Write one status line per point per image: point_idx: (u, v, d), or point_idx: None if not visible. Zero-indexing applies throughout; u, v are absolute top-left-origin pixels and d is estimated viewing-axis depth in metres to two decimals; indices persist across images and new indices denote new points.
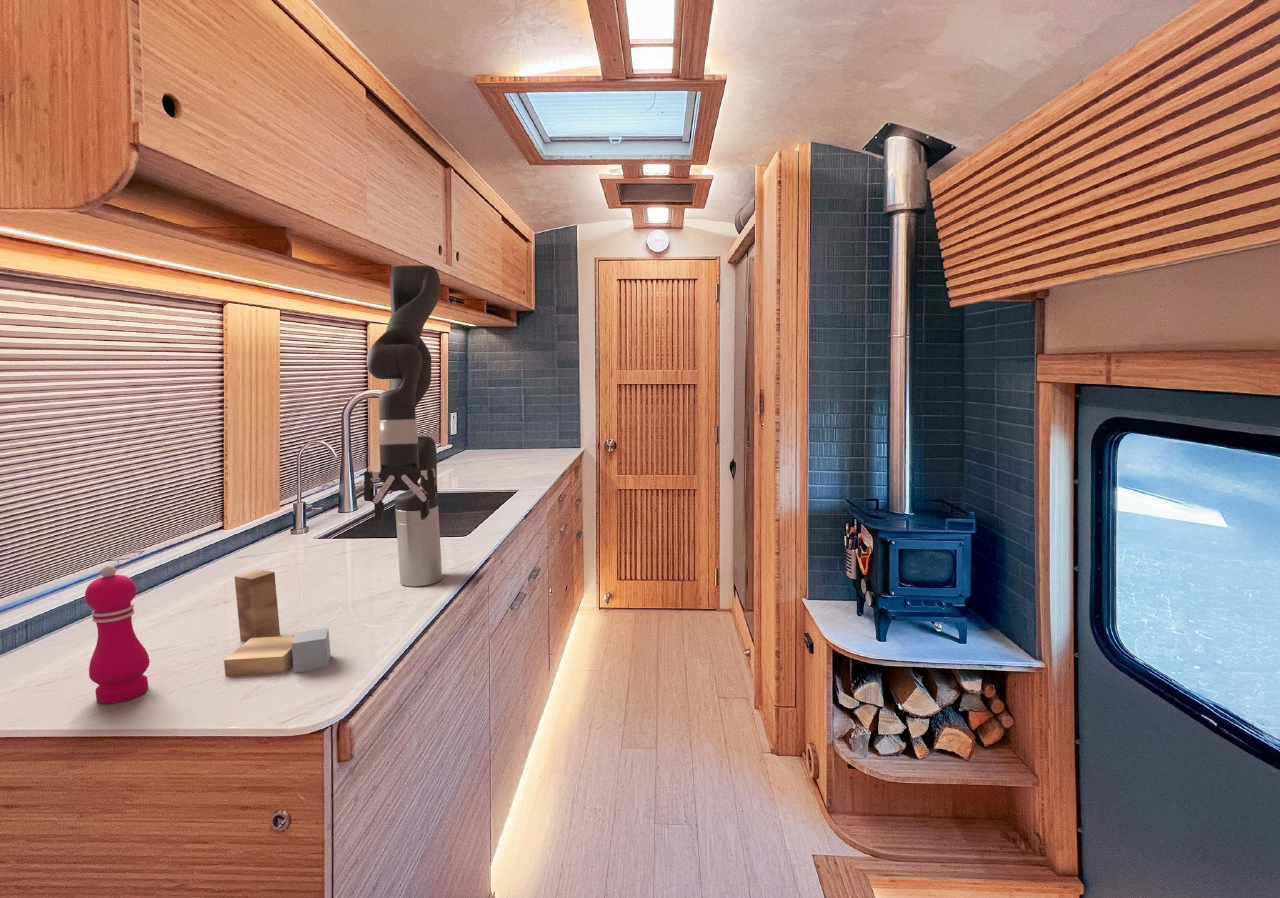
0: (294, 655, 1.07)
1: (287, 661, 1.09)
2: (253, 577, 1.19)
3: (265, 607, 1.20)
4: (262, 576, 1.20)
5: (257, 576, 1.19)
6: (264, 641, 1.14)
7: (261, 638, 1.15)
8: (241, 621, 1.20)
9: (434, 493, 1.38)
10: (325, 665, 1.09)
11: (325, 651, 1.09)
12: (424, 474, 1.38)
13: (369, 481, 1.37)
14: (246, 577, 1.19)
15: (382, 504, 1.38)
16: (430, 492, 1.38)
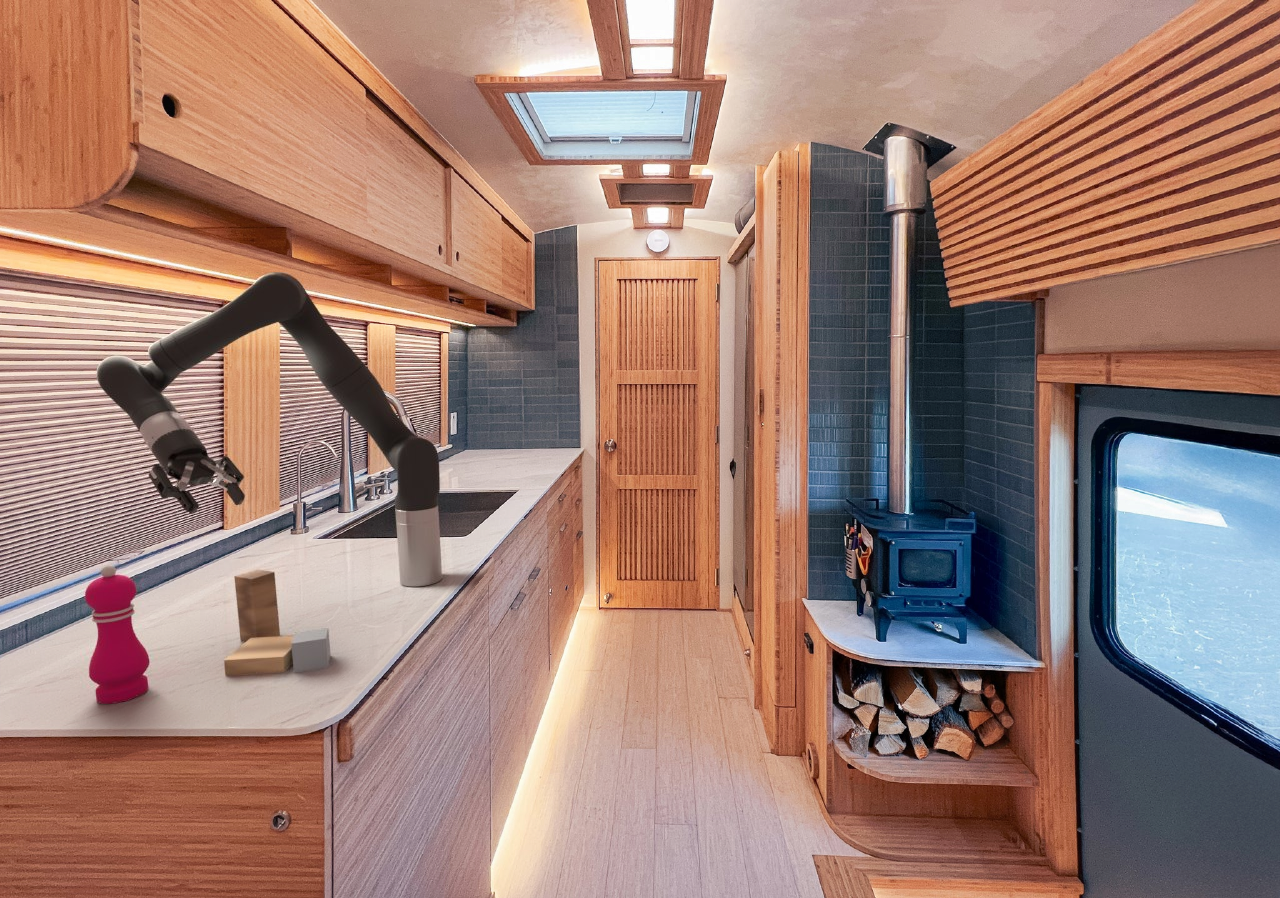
0: (294, 655, 1.07)
1: (287, 661, 1.09)
2: (253, 577, 1.19)
3: (265, 607, 1.20)
4: (262, 576, 1.20)
5: (257, 576, 1.19)
6: (264, 641, 1.14)
7: (261, 638, 1.15)
8: (241, 622, 1.20)
9: None
10: (325, 665, 1.09)
11: (325, 651, 1.09)
12: None
13: None
14: (246, 577, 1.19)
15: (229, 488, 1.26)
16: None
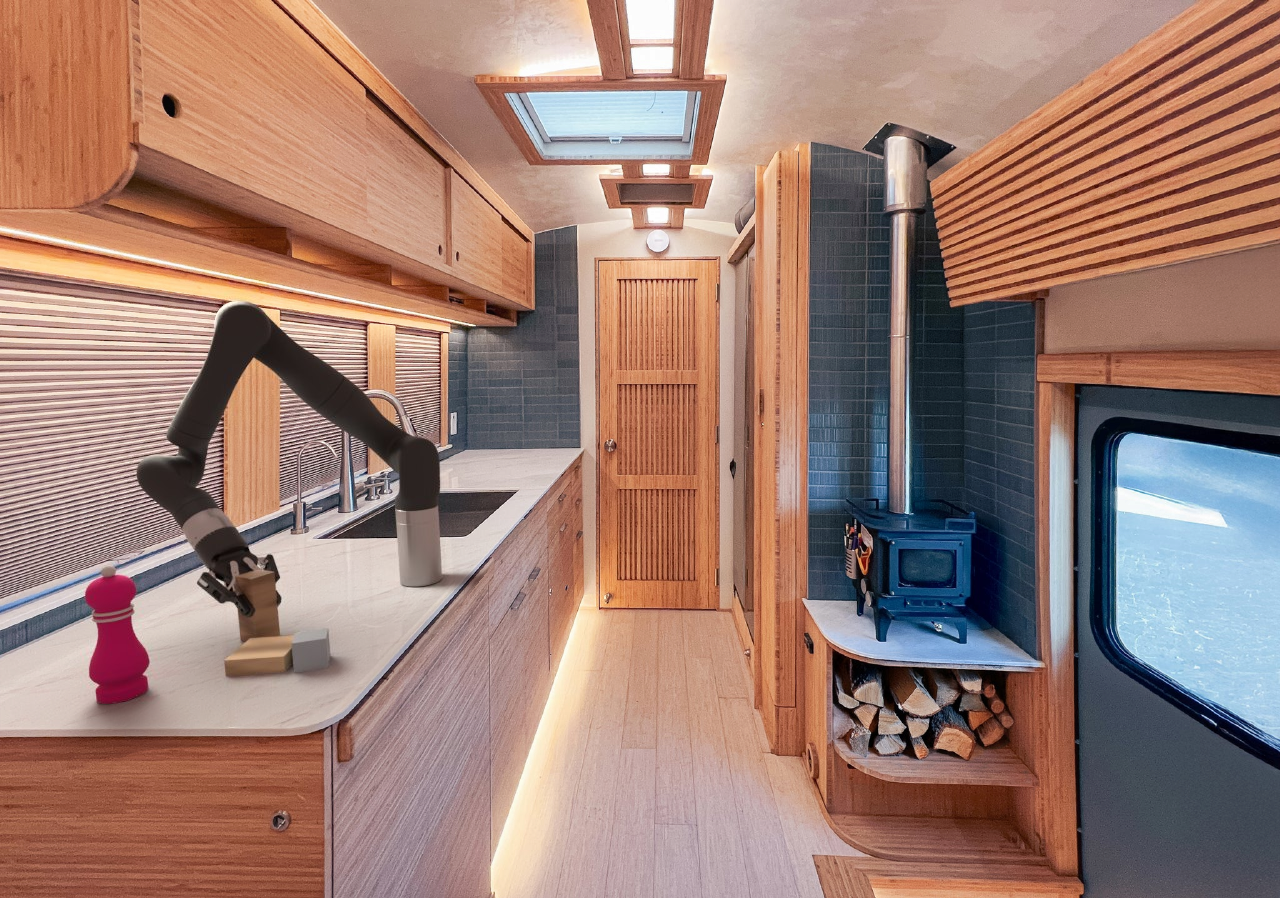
0: (294, 655, 1.07)
1: (287, 661, 1.09)
2: (253, 577, 1.19)
3: (265, 607, 1.20)
4: (262, 576, 1.20)
5: (257, 576, 1.19)
6: (264, 641, 1.14)
7: (260, 638, 1.15)
8: (241, 621, 1.20)
9: None
10: (325, 665, 1.09)
11: (325, 651, 1.09)
12: None
13: None
14: (246, 577, 1.19)
15: None
16: None
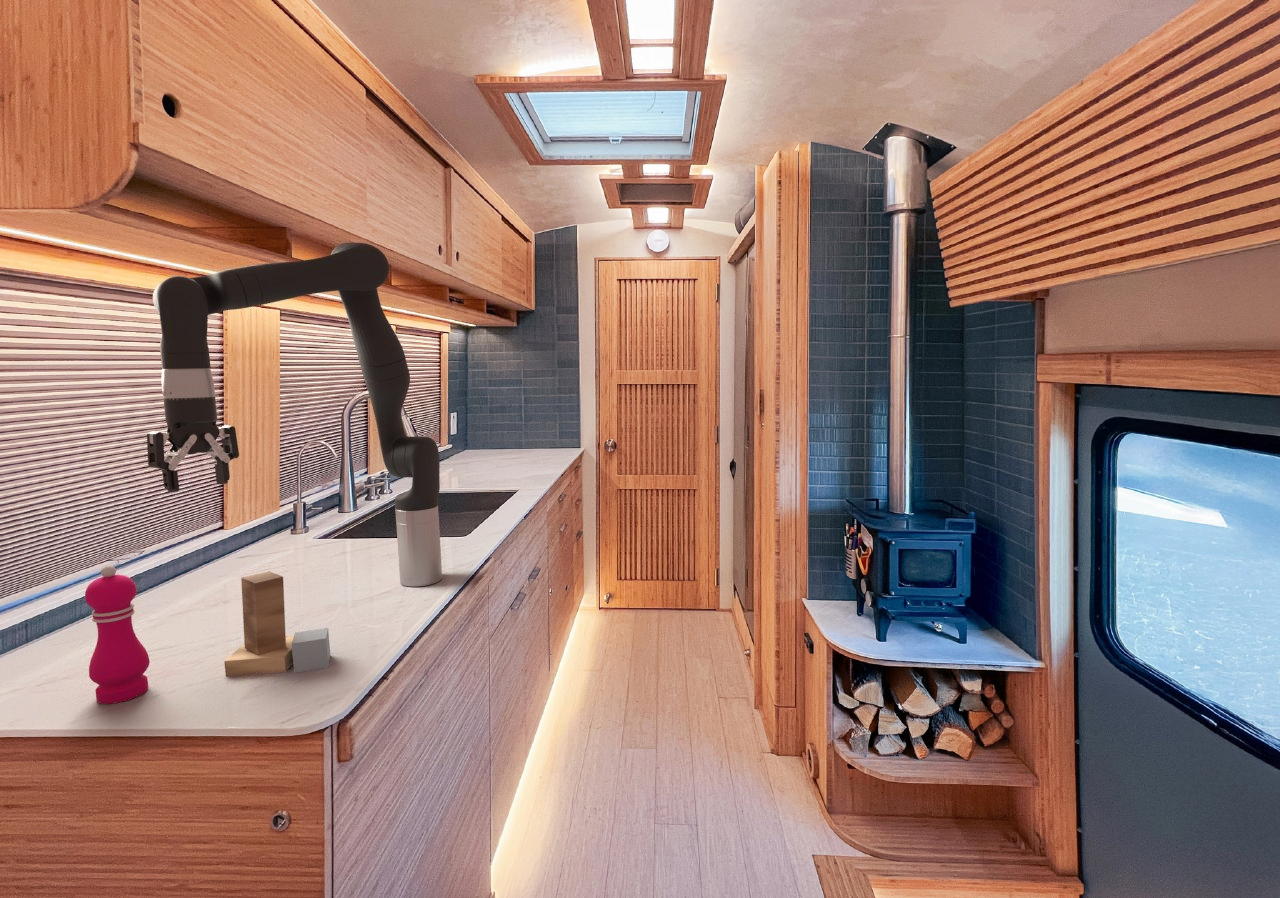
0: (294, 655, 1.07)
1: (288, 661, 1.09)
2: (258, 581, 1.08)
3: (269, 615, 1.09)
4: (268, 580, 1.09)
5: (262, 580, 1.08)
6: None
7: None
8: (245, 627, 1.10)
9: None
10: (325, 664, 1.09)
11: (325, 651, 1.09)
12: None
13: None
14: (251, 580, 1.08)
15: (219, 465, 1.21)
16: None
